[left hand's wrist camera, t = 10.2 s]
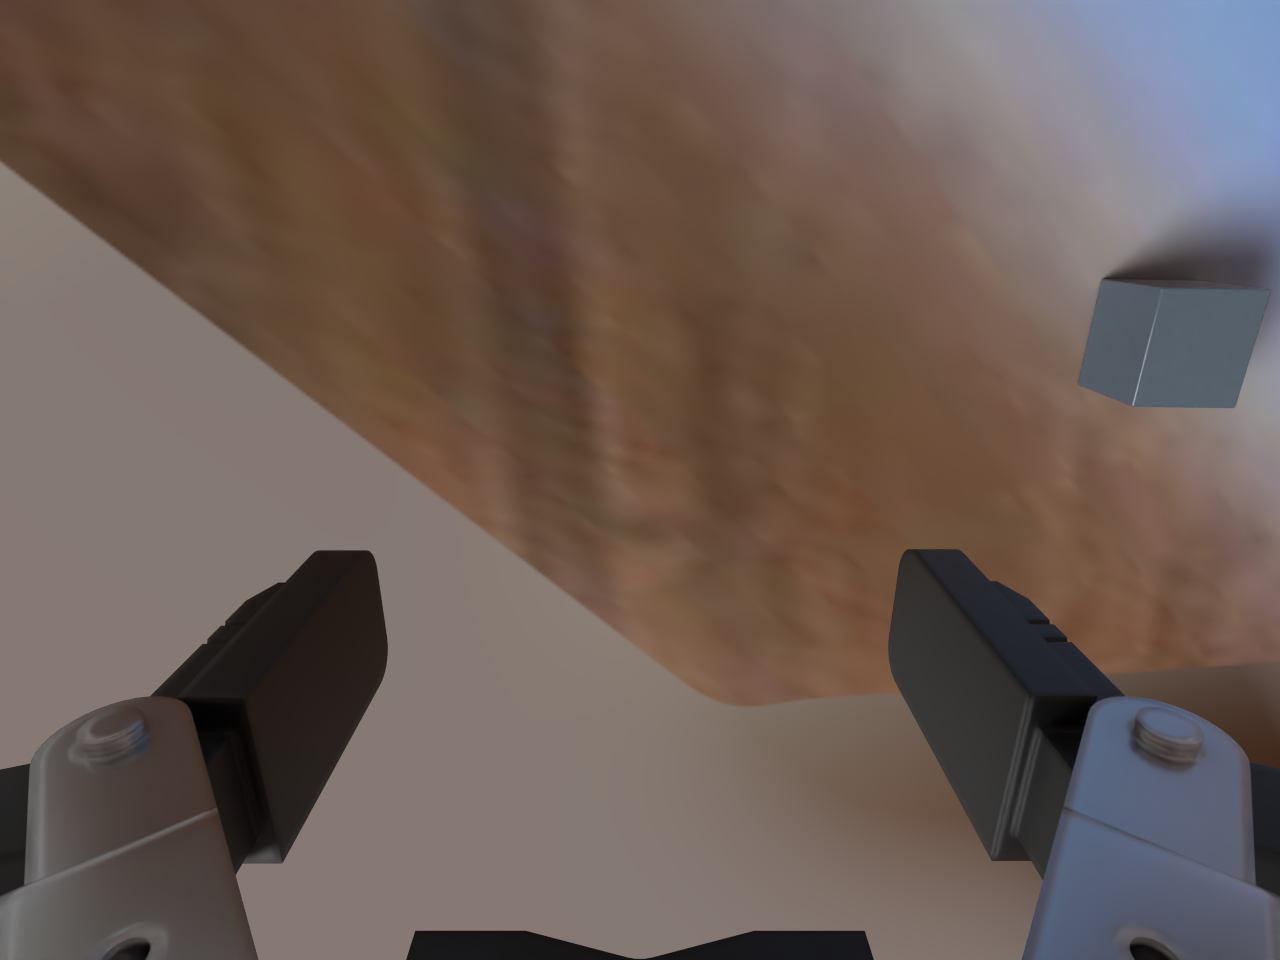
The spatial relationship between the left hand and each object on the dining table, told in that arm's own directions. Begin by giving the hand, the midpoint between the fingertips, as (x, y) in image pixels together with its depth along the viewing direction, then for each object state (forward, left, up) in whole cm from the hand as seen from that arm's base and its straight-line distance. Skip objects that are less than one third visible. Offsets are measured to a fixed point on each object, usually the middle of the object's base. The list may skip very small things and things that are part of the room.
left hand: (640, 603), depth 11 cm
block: (-7, +21, -24) cm, 33 cm away
